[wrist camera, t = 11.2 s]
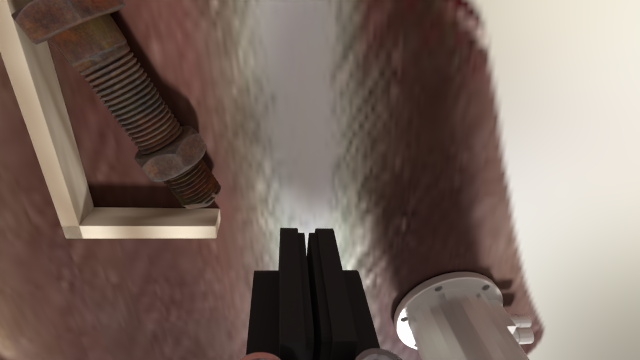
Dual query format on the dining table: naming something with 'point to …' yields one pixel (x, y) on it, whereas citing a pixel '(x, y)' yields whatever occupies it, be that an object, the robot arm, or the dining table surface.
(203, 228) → the dock
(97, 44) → the bolt
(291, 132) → the dining table surface
